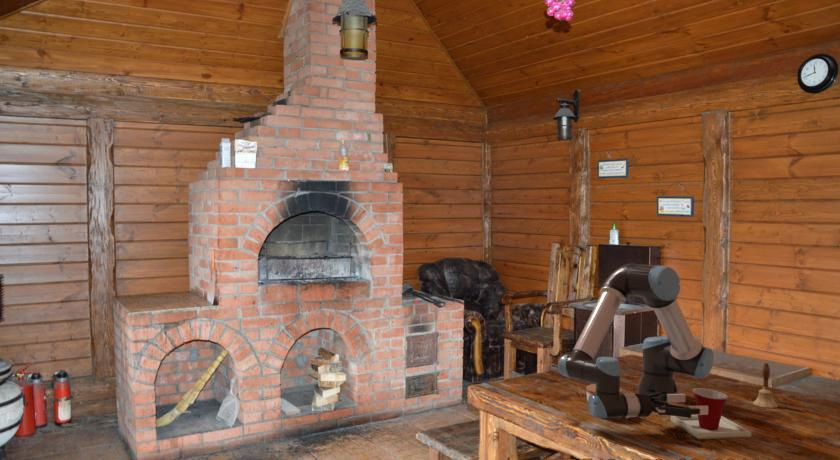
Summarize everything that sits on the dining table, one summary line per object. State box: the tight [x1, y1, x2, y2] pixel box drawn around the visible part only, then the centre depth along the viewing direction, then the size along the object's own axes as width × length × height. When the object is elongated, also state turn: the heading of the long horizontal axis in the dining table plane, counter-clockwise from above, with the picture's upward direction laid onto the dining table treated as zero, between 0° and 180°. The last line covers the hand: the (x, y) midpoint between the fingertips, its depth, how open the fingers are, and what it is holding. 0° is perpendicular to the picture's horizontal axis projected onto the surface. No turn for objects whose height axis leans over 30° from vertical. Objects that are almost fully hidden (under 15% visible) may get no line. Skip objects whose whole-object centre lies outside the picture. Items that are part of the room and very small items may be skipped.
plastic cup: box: [692, 387, 729, 430], centre depth 213 cm, size 11×11×12 cm
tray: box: [670, 415, 752, 440], centre depth 213 cm, size 18×18×2 cm
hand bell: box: [752, 362, 779, 409], centre depth 241 cm, size 8×8×16 cm
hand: (696, 403), depth 212 cm, fingers open, 13 cm apart
